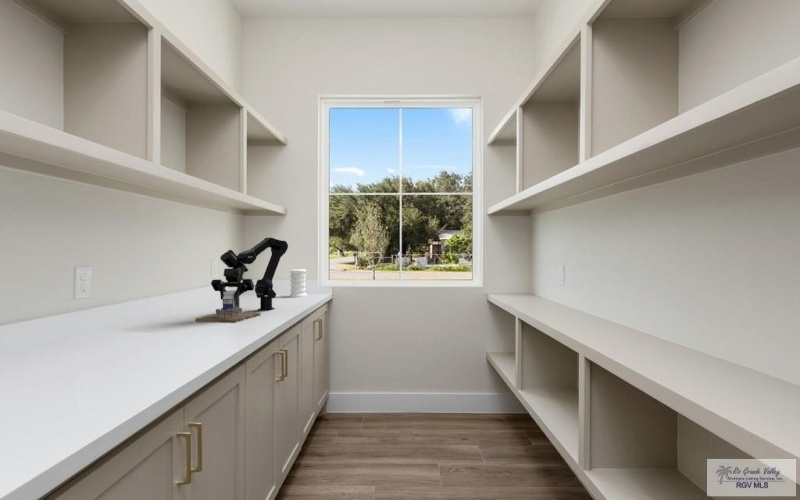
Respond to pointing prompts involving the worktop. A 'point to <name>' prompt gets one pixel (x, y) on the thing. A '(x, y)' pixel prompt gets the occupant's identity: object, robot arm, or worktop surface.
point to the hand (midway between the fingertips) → (227, 299)
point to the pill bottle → (229, 301)
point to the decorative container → (298, 283)
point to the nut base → (230, 319)
